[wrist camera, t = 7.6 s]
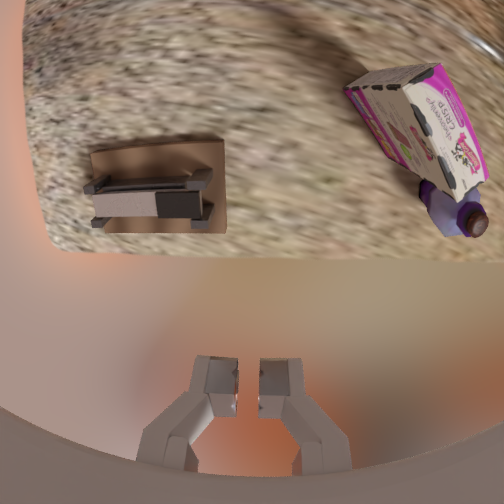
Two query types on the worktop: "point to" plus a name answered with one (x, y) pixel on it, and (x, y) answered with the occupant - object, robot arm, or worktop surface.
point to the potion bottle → (454, 211)
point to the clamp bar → (149, 203)
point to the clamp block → (189, 182)
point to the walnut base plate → (166, 164)
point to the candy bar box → (422, 125)
